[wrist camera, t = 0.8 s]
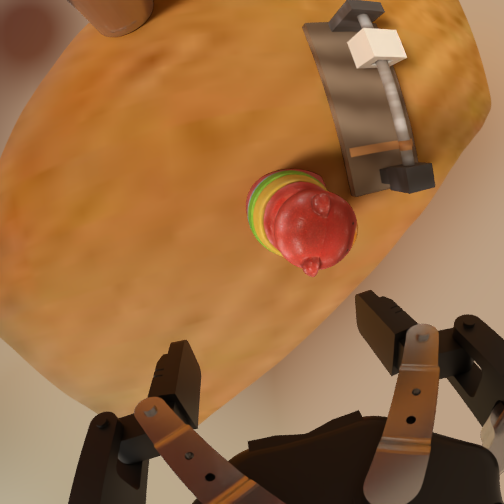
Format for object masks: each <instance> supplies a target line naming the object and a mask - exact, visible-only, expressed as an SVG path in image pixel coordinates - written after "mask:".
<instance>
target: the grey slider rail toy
mask: <svg viewBox="0 0 504 504" xmlns="http://www.w3.org/2000/svg"><path fill="white" fill-rule="evenodd" d="M384 12H385V11H384V9H383V7H382V5H381V3H380V2H371V1H361V0H346V2H345V3H344V4H343V5H342V6H341V8H340V9H339V10H338V11H337V13H336V14H335V15H334V16H333V18H332V19H331V20H330V21H329V22H319V23H305V24H304V26H303V27H302V28H303V31H304V33H305V36H306V38H307V41H308V43H309V46H310V49H311V51H312V54H313V57H314V59H315V62H316V65H317V68H318V71H319V74H320V77H321V80H322V83H323V86H324V89H325V92H326V96H327V99H328V102H329V105H330V109H331V112H332V116H333V119H334V123H335V127H336V130H337V134H338V138H339V142H340V146H341V150H342V154H343V158H344V163H345V167H346V172H347V176H348V181H349V186H350V191H351V196H354V197H358V196H362V195H366V194H370V193H374V192H378V191H382V190H386V189H390V190H394V191H399V192H404V193H409V194H410V193H414V192H418V191H422V190H426V189H430V188H433V187H435V181H434V174H433V167H432V163H419V162H418V158H417V153H416V148H415V143H414V138H413V134H412V129H411V125H410V121H409V117H408V113H407V109H406V106H405V102H404V99H403V95H402V92H401V89H400V85H399V82H398V79H397V76H396V73H395V70H394V67H393V65H392V66H390V67H389V64H388V62H387V60H377V61H376V62H375V63H376V66H377V68H356V65H355V62H354V59H353V57H352V54H351V51H350V49H349V46H348V44H347V42H348V41H349V40H350V39H351V38H352V37H354V36H355V35H356V34H357V33H358V32H359V31H360V30H361V29H362V28H374V29H378V27H377V25H376V24H375V23H372V22H373V21H375V20H376V19H377V18H378V17H379V16H380V15H382V14H383V13H384Z"/></svg>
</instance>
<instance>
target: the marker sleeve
mask: <svg viewBox="0 0 504 504" xmlns="http://www.w3.org/2000/svg"><path fill="white" fill-rule="evenodd" d="M347 44H348V46H349V49H350V51H351V54H352V57H353V59H354V62H355V65H356V68H377V66H376V63H375V62H376V61H377V60H387V62H388V64H389V67H390V66H392V65H394V64H396V63H398V62H400V61H402V60H403V59H405V58H407V56H406V53H405V51H404V48H403V46H402V43H401V41H400V38H399V36H398V34H397V31H396V30H388V29H374V28H362V29H361V30H360V31H359V32H358V33H357V34H356V35H355V36H354V37H352V38H351V39H350V40H349V41H348V42H347Z"/></svg>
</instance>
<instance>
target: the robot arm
mask: <svg viewBox="0 0 504 504" xmlns="http://www.w3.org/2000/svg"><path fill="white" fill-rule="evenodd" d="M67 1H68V2H69V3H70V4H71V5H72V6H73V7H74V8H75V9H76V10H78V11H79V12H80V13H81V14H82V15H83V16H84V17H85V18H86V19H87V20H88V21H89V22H90V23H91V24H92V25H93V26H94V27H95V28H96V29H97V30H98V31H99V32H100V33H101V34H103V35H105V36H108V37H118V36H122V35H125V34H128V33H130V32H132V31H134V30H136V29H137V28H139V27H140V26H141V25H142V24H143V23H145V21H146V20H147V19H148V18H149V16H150V15H151V13H152V10H153V5H154V4H153V0H67ZM355 305H356V319H357V326H358V329H359V332H360V333H361V335H362V336H363V338H364V339H365V340H366V341H367V343H368V344H369V346H370V347H371V349H372V350H373V351H374V353H375V354H376V355H377V357H378V358H379V359H380V361H381V362H382V364H383V365H384V366H385V368H386V369H387V370H388V372H389V373H390V375H391V376H393V375H395V374H397V373H399V374H398V378H397V383H396V387H395V391H394V396H393V399H392V403H391V407H390V411H389V414H388V417H381V416H365V417H362V415H361V413H360V412H359V410H358V411H355V412H353V413H350V414H347V415H345V416H341V417H339V418H336V419H333V420H331V421H329V422H327V423H326V424H324V425H322V426H320V427H318V428H316V429H315V430H313V431H311V432H309V433H306V434H298V435H279V436H271V437H267V438H262V439H257V440H252V441H248V447H249V449H247V450H245V451H243V452H241V453H239V454H237V455H236V456H234V457H233V458H232V459H230V460H229V461H227V460H226V459H225V458H223V457H222V456H221V455H220V454H219V453H218V452H217V451H216V450H214V449H213V448H212V447H211V446H210V445H209V444H208V443H207V442H206V441H205V440H204V439H203V438H202V437H201V436H199V434H198V433H196V432H195V431H194V430H193V429H197V428H198V415H199V399H200V385H201V371H200V367H199V364H198V362H197V360H196V358H195V355H194V353H193V351H192V349H191V347H190V344H189V342H188V341H187V340H182V341H177V342H172V343H171V344H170V347H169V351H168V354H164V355H163V356H162V357H161V358H160V359H159V361H158V362H157V365H156V369H155V372H154V378H153V379H152V383H151V387H150V391H149V394H148V398H146V399H144V400H142V401H141V402H140V403H138V405H137V406H136V407H135V410H134V413H133V414H131V415H128V416H125V417H122V418H117V416H116V415H115V414H114V413H112V412H102V413H100V414H98V415H97V416H95V417H94V418H93V420H92V421H91V423H90V426H89V429H88V432H87V435H86V438H85V441H84V445H83V448H82V451H81V455H80V458H79V462H78V465H77V469H76V473H75V477H74V481H73V485H72V489H71V493H70V498H69V502H68V504H146V489H147V477H148V476H147V475H148V466H149V459H151V458H154V457H157V456H160V455H161V456H162V457H163V459H164V460H165V462H166V463H167V464H168V465H169V466H170V468H171V469H172V470H173V471H174V473H175V474H176V475H177V476H178V477H179V479H180V480H181V481H182V482H183V483H184V484H185V486H186V487H187V488H188V489H189V490H190V491H191V492H192V493H193V494H194V495H195V496H196V498H197V499H196V500H195V501H194V502H193V503H192V504H504V503H503V501H502V497H501V492H500V482H499V479H500V477H499V476H500V474H502V473H503V472H504V340H503V338H501V337H500V336H499V335H498V334H497V333H496V332H495V331H494V330H492V329H491V328H490V327H489V326H488V325H487V324H486V323H484V322H483V321H482V320H481V319H480V318H478V317H476V316H474V315H462V316H460V317H458V318H457V319H456V320H455V322H454V327H453V328H450V329H445V330H440V331H438V330H437V329H436V328H435V327H433V326H432V325H428V324H418V323H417V322H416V321H414V320H413V319H412V318H411V317H410V316H409V315H408V314H407V313H406V312H405V311H403V310H402V308H400V307H399V306H398V305H397V304H396V303H395V302H394V301H393V300H391V299H389V298H386V297H383V296H382V297H378V296H377V295H376V294H375V293H374V292H373V291H372V290H368V291H365V292H362V293H360V294H356V296H355ZM474 361H476V363H477V364H478V365H479V366H480V367H481V369H480V368H479V367H478V366H477V365H476V364H475V363H474ZM442 378H447V379H448V380H449V382H450V383H451V384H452V386H453V387H454V388H455V390H456V391H457V392H458V394H459V395H460V396H461V398H462V399H463V400H464V402H465V403H466V404H467V406H468V407H469V408H470V410H471V411H472V413H473V414H474V416H475V417H476V418H477V420H478V421H479V423H480V424H481V426H482V430H481V440H482V446H481V445H477V444H473V443H469V442H465V441H462V440H458V439H454V438H451V437H447V436H444V435H440V434H437V433H433V426H434V420H435V413H436V405H437V395H438V386H439V379H442Z"/></svg>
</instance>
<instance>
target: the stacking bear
mask: <svg viewBox="0 0 504 504" xmlns="http://www.w3.org/2000/svg"><path fill="white" fill-rule="evenodd" d="M246 211H247V216H248V221H249V225H250V228H251V230H252V232H253V234H254V236H255V237H256V239H257V240H258V241H259V242H260V243H261V244H262V245H263V246H264V247H265V248H267V249H268V250H269V251H271V252H273V253H275V254H277V255H280V256H282V257H284V258H285V259H287V260H288V261H289V262H290V263H292V264H293V265H295V266H297V267H300V268H303V271H304V272H305V274H307V275H309V276H311V277H315V276H316V274H317V273H318V270H319V269H326V268H329V267H331V266H334V265H335V264H337V263H338V262H339V261H341V260H342V259H343V258H344V257H345V256H346V255H347V254H348V252H349V251H350V249H351V248H352V246H353V245H354V243H355V241H356V238H357V233H358V225H357V220H356V216H355V213H354V211H353V209H352V207H351V206H350V205H349V204H348V203H347V202H346V201H345V200H344V199H343V198H341V197H340V196H338V195H336V194H334V193H331V192H328V191H327V189H326V185H325V183H324V182H323V179H322V177H321V176H319V175H318V174H316V173H313V172H310V171H306V170H301V169H284V170H279V171H275V172H272V173H269V174H267V175H265V176H263V177H261V178H260V179H259V180H257V181H256V182H255V183H254V185H253V186H252V187H251V189H250V191H249V193H248V196H247V200H246Z"/></svg>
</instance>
